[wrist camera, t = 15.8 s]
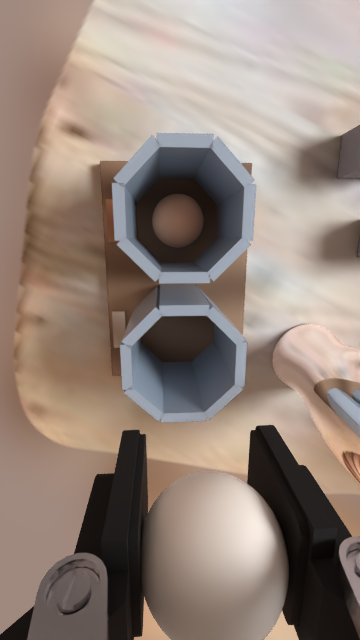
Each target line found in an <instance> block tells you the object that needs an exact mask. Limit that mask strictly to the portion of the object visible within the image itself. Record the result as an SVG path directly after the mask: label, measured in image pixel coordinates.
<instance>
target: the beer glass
mask: <svg viewBox="0 0 360 640" xmlns="http://www.w3.org/2000/svg"><path fill="white" fill-rule="evenodd" d="M272 363H273V368H274V371H275V373H276V375H277V376H278V378H279V379H280V380H281V381H282V382H283V383H285V384H286V385H287V386H289V387H290V388H292V389H294V390H295V391H297V392H298V393H299V395H300V396H301V397H302V399H303V401H304V403H305V405H306V407H307V409H308V411H309V413H310V415H311V417H312V419H313V421H314V423H315V425H316V427H317V429H318V430H319V432H320V434H321V436H322V437H323V439H324V441H325V442H326V444H327V445H328V447H329V448H330V449H331V451H332V452H333V453H334V455H335V456H336V458H337V459H338V460H339V462H340V463H341V464H342V465H343V466H344V468H345V469H346V470H347V471H348V472H349V473H350V474H351V476H352V477H353V478H354V479H355V480H356V481H357V482H358V483H359V485H360V349H356V348H353V347H350V346H347V345H345V344H343V343H342V342H341V341H340V340H339V339H338V338H337V337H336V336H335V335H334V334H333V333H332V332H331V331H330V330H328V329H327V328H325V327H323V326H320V325H316V324H304V325H299V326H297V327H294V328H292V329H290V330H289V331H287V332H286V333H285V334H284V335H283V336H282V337H281V338H280V339H279V341H278V342H277V344H276V346H275V348H274V351H273V357H272Z"/></svg>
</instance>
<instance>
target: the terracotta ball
mask: <svg viewBox="0 0 360 640" xmlns="http://www.w3.org/2000/svg"><path fill="white" fill-rule="evenodd" d="M203 223H204V218H203V213H202V210H201V208H200V206H199V205H198V203H197V202H196V201H195V200H194V199H192V198H191V197H189V196H187V195H184V194H172V195H169V196H167V197H165V198H163V199H162V200H161V201H160V202H159V203H158V204H157V206H156V207H155V210H154V212H153V217H152V225H153V229H154V232H155V234H156V236H157V237H158V238H159V240H160V241H162V242H163V243H164V244H166V245H168V246H170V247H175V248H181V247H185V246H188V245H190V244H192V243H193V242H194V241H195V240H196V239H197V238H198V237H199V235H200V234H201V231H202V229H203Z"/></svg>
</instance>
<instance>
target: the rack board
mask: <svg viewBox="0 0 360 640" xmlns="http://www.w3.org/2000/svg"><path fill="white" fill-rule="evenodd" d="M127 163H128V161H100V169H101V186H102V203H103V221H104V238H105V255H106V272H107V289H108V306H109V323H110V341H111V358H112V375H113V376H116V375H121V355H120V344H121V341H122V339H123V336H124V334H125V331H126V328H127V326H128V323H129V321H130V318H131V316H132V313H133V310H134V309H135V308H136V307H137V306H138V305H139V304H140V303H141V302H142V301H143V300H144V299H145V298H146V297H147V296H148V295H149V294H150V293H151V292H152V291H153V290H154V289H155V288H156V287H157V286H158V287H159V288H160V285H192V284H194V285H195V286H198V287H199V288H200V289H201V290H202V291H203V292H204V293H205V294H206V295H207V296H208V297H209V298H210V299H211V300H212V301H213V302H214V303H215V304H216V305H217V306H218V307H219V308H220V309H221V311H222V312H223V313H224V314H225V315H226V317H227V318H228V319H229V320H230V321H231V322H232V324H233V325H234V326H235V327H236V328H237V330H238V331H239V332H240V333H241V334H242V335H243V319H244V300H245V281H246V263H247V249H246V250H245V251H244V252H243V253H242V254H241V255H240V256H239V257H238V258H237V259H236V260H235V261H234V262H233V263H232V264H231V265H230V266H229V267H228V268H227V269H226V270H225V271H224V272H223V273H222V274H221V275H220V276H219V277H218V278H217V279H216V280H215V281H212V280H211V279H210V283H167V284H159V279H158V280H157V281H156V282H155V281H154V280H153V279H152V278H150V277H149V276H148V275H147V274H146V273H145V272H144V271H143V270H142V269H141V268H140V267H139V266H138V265H137V264H136V263H135V262H134V261H133V260H132V259H131V258H130V257H129V256H128V255H127V254H126V253H125V252H124V251H123V250H122V249H121V248H120V247H119V246H117V244H118V243H119V242H120V241H115V236H114V216H113V197H112V183H117V182H116V181H115V180H114V179H113V178H114V177H115V176H116V175H117V174H118V173H119V171H120V170H121V169H122V168H123V167H124V166H125V165H126V164H127ZM241 164H242V165H243V167H244V168H245V169H246V170H247V171H248V173H249V174H250V175H251V170H252V163H241ZM172 194H184V195H187V196H189V197H191V198H192V199H194V200H195V201H196V202H197V203H198V205H199V206H200V208H201V210H202V213H203V218H204V223H203V229H202V231H201V234H200V235H199V237H198V238H197V239H196V240H195V241H194V242H193V243H192V244H190V245H188V246H185V247H181V248H175V247H170V246H168V245H166V244H164V243H163V242H162V241H160V240H159V238H158V237H157V236H156V234H155V232H154V229H153V225H152V217H153V212H154V210H155V207H156V206H157V204H158V203H159V202H160V201H161V200H162V199H163V198H165V197H167V196H169V195H172ZM216 218H217V204H216V203H215V202H214V201H213V199H212V198H211V197H210V196H209V195H208V194H207V193H206V192H205V191H204V189H203V188H202V187H201V186H200V185H199V184H198V183H197V182H196V181H195V179H175V178H160V179H159V180H158V181H157V182H156V183H155V184H154V185H153V187H152V188H151V189H150V190H149V191H148V192H147V193H146V194H145V195H144V196H143V197H142V198H141V200H140V201H139V202H138V203H137V230H138V239H139V240H140V241H141V242H142V243H143V244H144V245H145V246H146V247H147V248H148V249H149V250H150V251H151V252H152V253H153V254H154V255H155V256H156V257H157V258H158V259H159V260H160V261H161V262H193V261H194V260H195V259H196V258H197V257H198V256H199V255H200V254H201V253H202V252H203V251H204V250H205V249H206V248H207V247H208V246H209V245H210V244H211V243H212V242H213V241H214V240H215V239H216ZM212 342H213V321H212V320H211V319H210V318H209V317H208V316H162V317H161V318H160V319H159V320H158V321H157V322H156V323H155V324H154V325H153V326H152V327H151V328H150V329H149V330H148V331H147V332H146V333H145V334H144V335H143V336H141V343H142V344H143V345H144V346H145V347H146V348H147V349H148V350H149V351H151V352H152V353H153V354H154V355H155V356H156V357H157V358H158V359H159V360H161V361H162V362H192V361H193V360H194V359H195V358H196V357H197V356H198V355H200V354H201V353H202V352H203V351H204V350H205V349H206V348H207V347H208V346H209V345H210V344H211V343H212Z"/></svg>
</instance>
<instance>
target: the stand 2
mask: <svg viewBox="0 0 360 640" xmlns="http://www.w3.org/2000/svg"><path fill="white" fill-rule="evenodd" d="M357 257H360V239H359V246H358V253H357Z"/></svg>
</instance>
